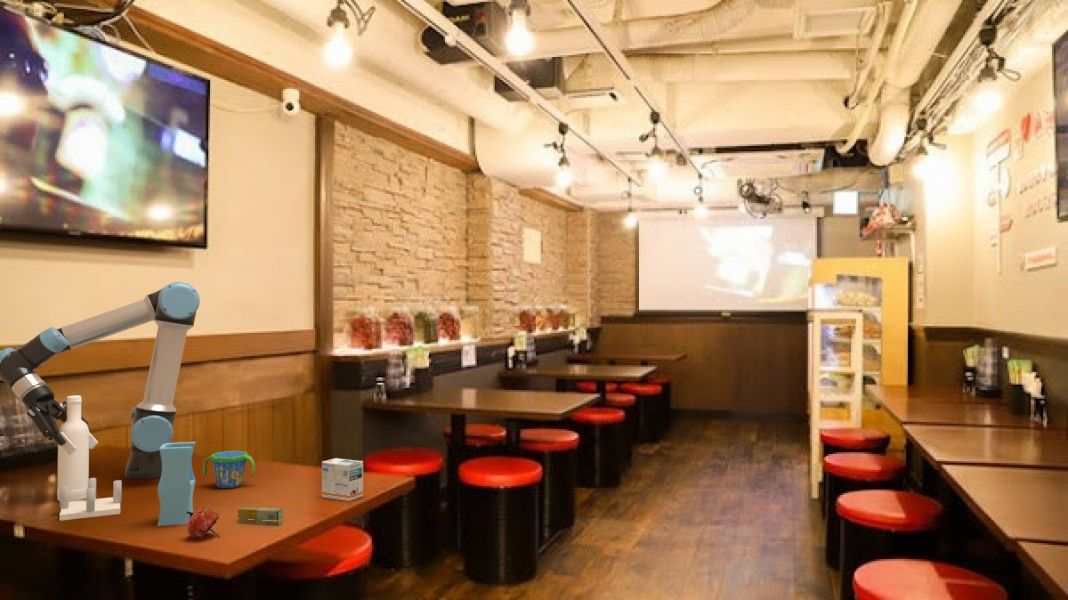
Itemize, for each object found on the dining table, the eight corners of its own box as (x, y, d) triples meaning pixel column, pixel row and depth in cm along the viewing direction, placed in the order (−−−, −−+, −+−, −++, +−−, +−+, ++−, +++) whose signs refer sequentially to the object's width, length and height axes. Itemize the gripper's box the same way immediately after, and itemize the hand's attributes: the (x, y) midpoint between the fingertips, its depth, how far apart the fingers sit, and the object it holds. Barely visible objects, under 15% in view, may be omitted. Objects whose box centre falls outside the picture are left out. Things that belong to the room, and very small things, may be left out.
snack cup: (260, 482, 240) (260, 451, 240) (245, 491, 229) (246, 457, 229) (213, 481, 241) (213, 450, 241) (196, 489, 230) (196, 456, 230)
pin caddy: (121, 501, 216) (121, 475, 216) (121, 513, 204) (121, 486, 204) (61, 507, 209) (61, 480, 209) (58, 521, 197) (58, 492, 197)
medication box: (283, 523, 197) (284, 508, 197) (278, 526, 194) (278, 510, 194) (242, 520, 199) (242, 505, 199) (236, 523, 197) (236, 508, 197)
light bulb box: (363, 496, 224) (364, 460, 224) (349, 501, 218) (349, 464, 218) (335, 492, 229) (335, 457, 229) (320, 497, 223) (320, 461, 223)
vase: (190, 523, 195) (191, 447, 195) (157, 526, 193) (157, 448, 193) (194, 515, 203) (195, 441, 203) (163, 517, 201) (163, 443, 201)
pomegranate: (220, 540, 189) (190, 516, 189) (235, 519, 187) (205, 494, 188) (203, 553, 181) (171, 527, 182) (218, 531, 180) (187, 505, 181)
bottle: (50, 500, 217) (51, 397, 217) (75, 494, 224) (76, 393, 224) (70, 503, 214) (71, 398, 214) (95, 496, 221) (96, 395, 221)
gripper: (52, 397, 231) (100, 450, 229) (-4, 406, 210) (48, 465, 208) (68, 380, 231) (116, 433, 229) (13, 387, 210) (66, 446, 208)
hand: (84, 448), depth 219 cm, fingers open, 8 cm apart
